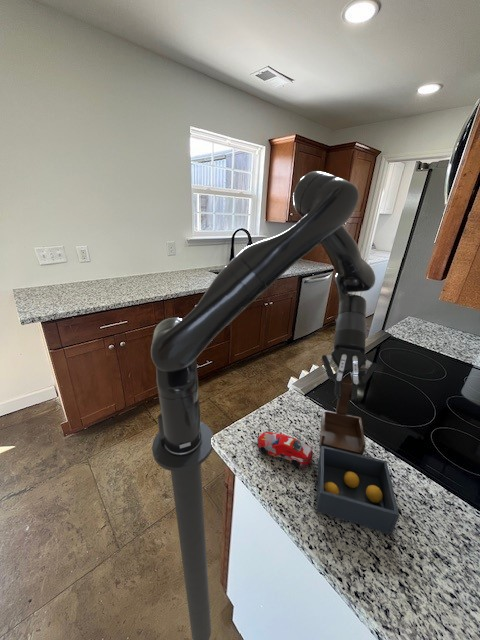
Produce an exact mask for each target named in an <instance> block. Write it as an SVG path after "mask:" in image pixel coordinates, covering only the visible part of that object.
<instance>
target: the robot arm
mask: <svg viewBox="0 0 480 640" xmlns="http://www.w3.org/2000/svg"><path fill="white" fill-rule="evenodd" d="M292 197H293V198H292V201H293V208H294V210H295V212H296V214H298V216H299V217H300V220H298V221H297V222H296V223H295V224H294V225H292V226H291V227H290V228H288V229H286V230H285V231H283V232H281V233H279V234H277V235H274V236H271V237H269V238H266V239H263V240H260V241H257V242H255V243H253V244H251V245H248V246H246V247H244V249H242V250H241V251H240V252H239V253H237V254H236V255H235V256H234V257H233V258H232V259H231V260H230V261H229V262H228V263H227V264H226V265H224V267H223V268H222V269H221V270H220V271H219V272H218V274H217V275H216V276H215V277H214V278H213V280H212V281H211V283H210V285H209V286H208V287H207V289H206V291H205V292H204V293H203V296H202V297H201V298H200V300H199V301H198V303H197V304H196V306H194V308H193V309H192V310H191V311H190V312H189V313H188V314H187V315H186V316H184V317H183V318H179V317H168V318H165V319H163V320H162V321H160V322H159V323H158V324H157V325H156V327H155V328H154V330H153V333H152V339H151V344H150V357H151V361H152V363H153V365H154V366H155V368H156V369H155V370H156V387H157V394H158V402H159V410H160V413H159V414H158V415H157V423H158V432H159V433H160V437H161V445H162V446H163V447H165V449H166V451H167V452H168V453H169V454H171V455H174V456H187V455H189V454H191V453H193V452H195V451H196V450H197V449H198V448H199V446H200V444H201V442H202V435H201V423H200V421H201V408H200V406H201V405H200V389H199V374H198V373H199V372H198V364H197V363H198V362H197V358H198V357H200V355H201V354H202V353H203V351H205V349H206V348H207V347H208V346H209V344H211V342H212V341H213V340H214V339H215V338H216V337H217V336H218V335H219V334H220V333H221V332H222V331H223V330H224V329H225V328H226V327H227V326H228V325H230V324H231V323H232V322H233V321H234V320H235V319H237V317H238V316H239V315H240V314H241V313H243V312H244V311H245V310H246V309H247V308H248V307H249V306H251V305H252V304H253V303H254V302H255V301H256V300H258V298H260V297H261V295H263V294H264V293H265V292H266V291H267V290H268V289H269V288H270V287H272V285H274V284H275V283H276V281H278V279H280V278H281V277H282V276H283V275H284V274H285V273H286V272H288V271H289V270H290V269H291V268H292V267H293V266H294V265H295V264H297V263H298V262H299V261H300V260H301V259H302V258H303V257H304V256H306V255H307V254H308V253H310V252H311V251H312V250H313V249H315V248H316V247H318V246H319V245H321V247H322V248H323V250H324V252H325V253H326V255H327V257H328V259H329V261H330V263H331V265H332V267H333V269H334V271H335V276H334V285H335V288H336V292H337V299H338V307H337V308H338V309H337V311H338V312H337V317H336V323H335V329H334V341H333V350H332V351H331V354H327V355H326V354H323V355H322V356H321V359H320V360H321V363H322V365H323V367H324V370H325V373H326V375H327V378H328V379H329V380H332V381H333V382H334V391H333V393H334V396H336V398H337V399H338V398H341V389H342V388H341V387H342V382H341V380H342V378H343V375H344V371H348V372H349V373H350V379H352V382H353V387H352V391H351V396H350V401H349V402H354V401H355V400H357V397H358V390H359V386H361V385H362V386H363V385H365V384H366V383H367V382H368V381H369V379H370V378H371V376H372V375H373V373H374V371H375V370H376V368H377V367H378V364H377V363H376V362H372V361H370V360H369V359H368V358H367V356H366V337H367V336H366V335H367V319H366V318H367V317H366V316H367V300H366V299H365V298H364V297H363V296H361V295H358V294H353V293H359V292H360V293H361V292H367V291H370V290H371V289H372V288H373V287H374V286H375V284H376V274H375V272H374V270H373V268H372V267H371V265H369V263H367V261H365V259H364V258H363V257H362V255H361V252H360V249H359V246H358V244H357V241H356V240H355V239H354V238H353V236H352V235H351V234H350V233H349V231H348V230H347V229H346V228H345V226H344V225H345V224H346V223H347V221H349V220H350V218H351V217H352V215H353V214H354V212H355V211H356V209H357V207H358V205H359V201H360V192H359V189H358V187H357V186H356V185H355V184H354V183H352V182H351V181H349V180H347V179H344V178H341V177H339V176H336V175H334V174H330V173H328V172H325V171H321V170H314V171H313V170H312V171H310V172H308V173H306V174H305V175H304V176H302V177H301V178H300V180H299V181H298V182H297V184H296V186H295V188H294V192H293V195H292ZM332 361H333V362H334V364H335V366H336V367H337V368H336V369H337V370H336V373H334V371H333V369H332V366H331V363H332ZM363 365H365V367H364V370H365V372H364V374H362V377H361V378H359V369H360V368H361V367H362V366H363Z"/></svg>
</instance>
